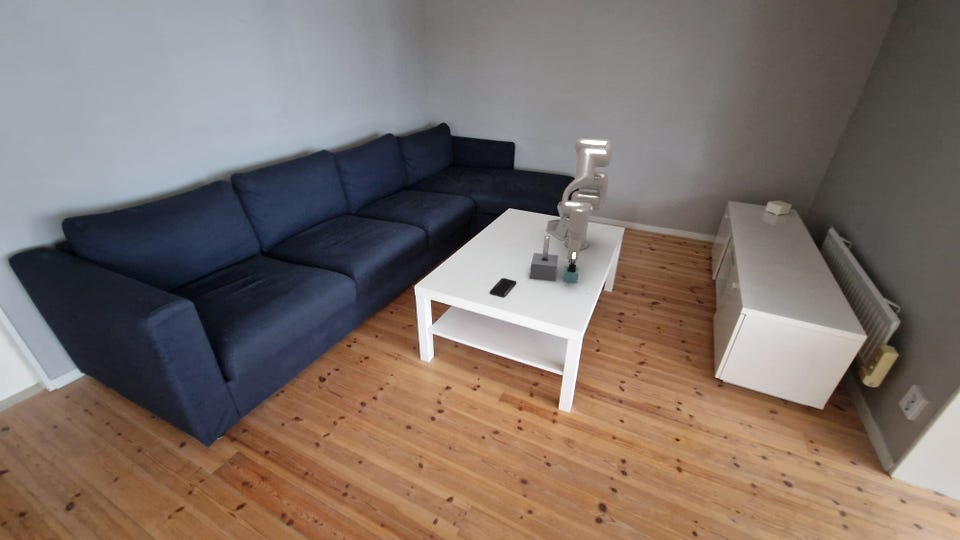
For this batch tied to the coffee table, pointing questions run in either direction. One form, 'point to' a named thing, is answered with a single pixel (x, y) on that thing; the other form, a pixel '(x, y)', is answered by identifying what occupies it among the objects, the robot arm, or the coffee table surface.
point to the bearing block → (543, 267)
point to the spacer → (570, 275)
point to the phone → (503, 287)
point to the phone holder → (559, 226)
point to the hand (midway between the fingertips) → (571, 267)
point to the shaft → (546, 248)
